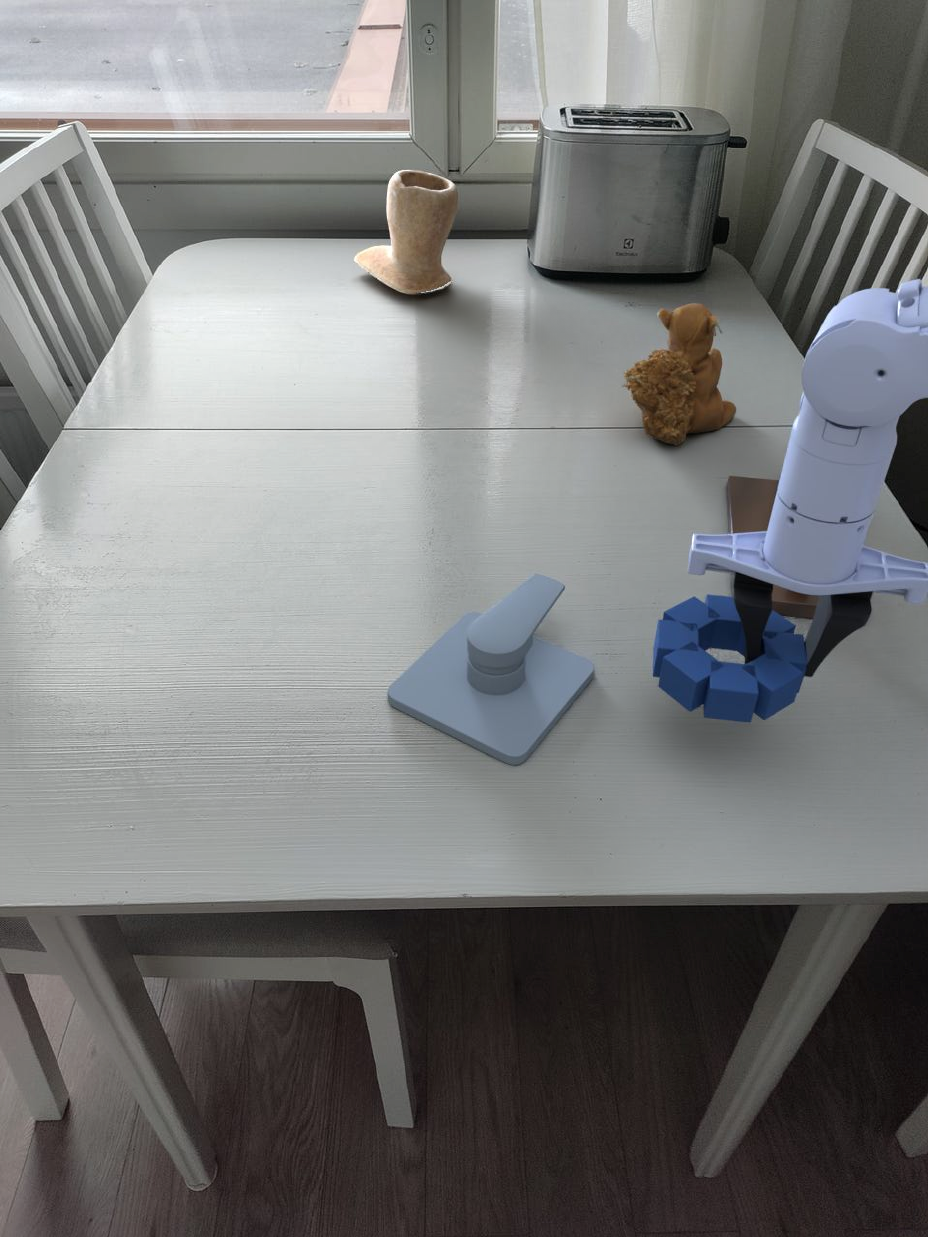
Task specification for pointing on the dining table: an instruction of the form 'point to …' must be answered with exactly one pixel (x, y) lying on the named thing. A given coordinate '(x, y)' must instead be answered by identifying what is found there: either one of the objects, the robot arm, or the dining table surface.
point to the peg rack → (752, 514)
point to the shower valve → (496, 676)
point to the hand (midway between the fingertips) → (778, 663)
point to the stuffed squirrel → (681, 378)
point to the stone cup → (414, 233)
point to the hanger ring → (724, 683)
